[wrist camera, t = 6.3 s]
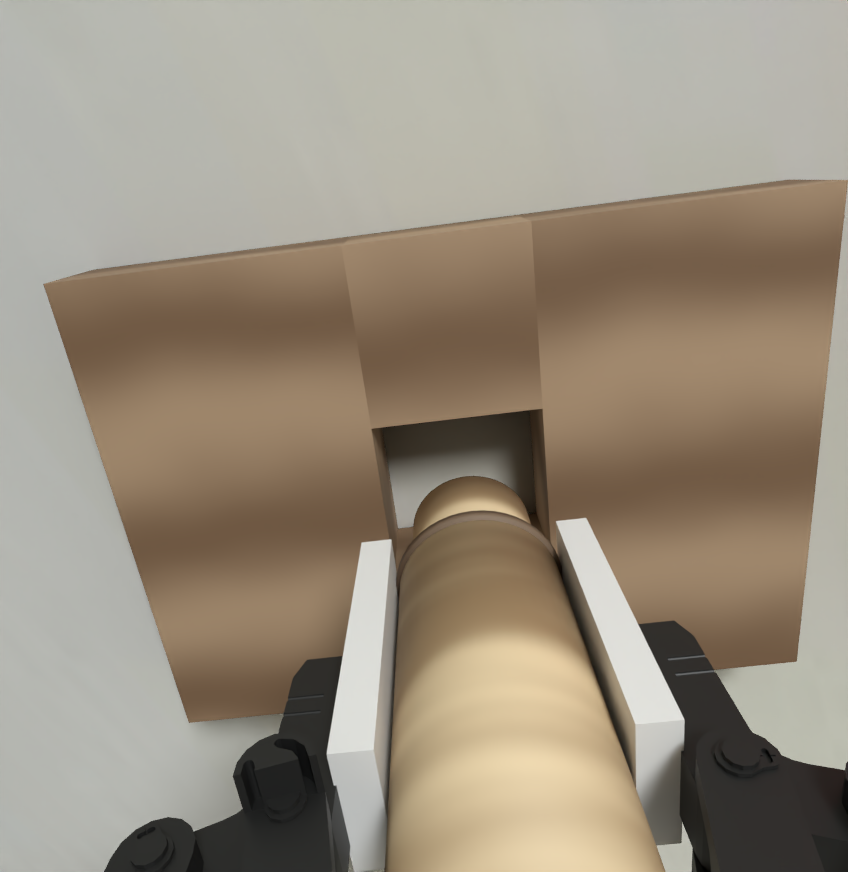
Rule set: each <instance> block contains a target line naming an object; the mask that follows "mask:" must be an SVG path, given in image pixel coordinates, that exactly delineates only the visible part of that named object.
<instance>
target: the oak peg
mask: <svg viewBox="0 0 848 872" xmlns="http://www.w3.org/2000/svg"><path fill="white" fill-rule="evenodd" d="M396 587H397V593H398V600H399V614H398V632H397V651H396V669H395V688H394V706H393V725H392V743H391V762H390V780H389V799H388V817H387V835H386V854H385V872H665V869H664V866H663V863H662V861H661V858H660V855H659V852H658V849H657V846H656V844H655V841H654V838H653V835H652V832H651V830H650V827H649V824H648V821H647V818H646V815H645V813H644V810H643V807H642V804H641V801H640V798H639V796H638V793H637V790H636V787H635V784H634V781H633V779H632V776H631V773H630V770H629V767H628V764H627V762H626V759H625V756H624V753H623V750H622V748H621V745H620V742H619V739H618V736H617V733H616V731H615V728H614V725H613V722H612V719H611V716H610V714H609V711H608V708H607V705H606V702H605V699H604V697H603V694H602V691H601V688H600V685H599V682H598V680H597V677H596V674H595V671H594V668H593V666H592V663H591V660H590V657H589V654H588V651H587V649H586V646H585V643H584V640H583V637H582V634H581V632H580V629H579V626H578V623H577V620H576V617H575V615H574V612H573V609H572V606H571V603H570V600H569V598H568V595H567V592H566V589H565V586H564V583H563V579H562V566H561V563H560V560H559V557H558V555H557V553H556V551H555V549H554V547H553V546H552V544H551V543H550V541H549V540H548V539H547V538H546V537H545V536H544V534H543V533H542V532H540V531H539V530H538V529H537V528H536V527H534V526H533V525H531V523H530V520H529V516H528V513H527V510H526V508H525V506H524V504H523V502H522V501H521V499H520V498H519V496H518V495H517V494H516V493H515V492H514V491H513V490H511V489H510V488H509V487H507V486H506V485H504V484H503V483H501V482H498V481H496V480H493V479H490V478H486V477H479V476H466V477H460V478H456V479H452V480H449V481H447V482H445V483H443V484H441V485H439V486H438V487H436V488H435V489H434V490H432V491H431V492H430V493H429V494H428V495H427V496H426V497H425V498H424V500H423V501H422V502H421V504H420V506H419V508H418V510H417V512H416V515H415V519H414V527H413V541H412V542H411V544H410V545H409V546H408V548H407V549H406V551H405V553H404V554H403V556H402V559H401V561H400V564H399V567H398V572H397V579H396Z"/></svg>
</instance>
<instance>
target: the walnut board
mask: <svg viewBox="0 0 848 872" xmlns="http://www.w3.org/2000/svg"><path fill="white" fill-rule="evenodd" d="M847 184H848V180H783V181H776V182H768V183H760V184H753V185H745V186H737V187H729V188H722V189H714V190H706V191H699V192H691V193H683V194H675V195H668V196H660V197H652V198H645V199H637V200H629V201H621V202H614V203H606V204H598V205H591V206H583V207H575V208H567V209H560V210H552V211H544V212H537V213H529V214H521V215H513V216H506V217H498V218H490V219H483V220H475V221H467V222H459V223H452V224H444V225H436V226H429V227H421V228H413V229H405V230H398V231H390V232H382V233H374V234H367V235H359V236H351V237H344V238H336V239H328V240H320V241H313V242H305V243H297V244H290V245H282V246H274V247H266V248H259V249H251V250H243V251H236V252H228V253H220V254H212V255H205V256H197V257H189V258H182V259H174V260H166V261H158V262H151V263H143V264H135V265H128V266H120V267H112V268H104V269H97V270H91V271H88V272H84V273H81V274H77V275H74V276H70V277H67V278H63V279H60V280H56V281H53V282H49V283H45V284H44V287H45V290H46V293H47V296H48V299H49V302H50V305H51V308H52V311H53V314H54V317H55V320H56V323H57V326H58V329H59V332H60V335H61V338H62V341H63V344H64V347H65V350H66V353H67V356H68V359H69V362H70V365H71V368H72V371H73V374H74V377H75V380H76V384H77V387H78V390H79V393H80V396H81V399H82V402H83V405H84V408H85V411H86V414H87V417H88V420H89V423H90V426H91V429H92V432H93V435H94V438H95V441H96V444H97V447H98V450H99V453H100V456H101V459H102V462H103V465H104V468H105V471H106V474H107V477H108V480H109V483H110V486H111V489H112V492H113V495H114V498H115V501H116V504H117V507H118V510H119V513H120V516H121V519H122V522H123V525H124V528H125V531H126V534H127V537H128V540H129V543H130V546H131V549H132V552H133V555H134V558H135V561H136V564H137V567H138V570H139V573H140V576H141V579H142V582H143V585H144V588H145V591H146V595H147V598H148V601H149V604H150V607H151V610H152V613H153V616H154V619H155V622H156V625H157V628H158V631H159V634H160V637H161V640H162V643H163V646H164V649H165V652H166V655H167V658H168V661H169V664H170V667H171V670H172V673H173V676H174V679H175V682H176V685H177V688H178V691H179V694H180V697H181V700H182V703H183V706H184V709H185V712H186V715H187V718H188V721H189V723H190V722H200V721H210V720H220V719H230V718H240V717H250V716H260V715H270V714H280V713H284V710H285V706H286V702H287V701H288V695H289V691H290V687H291V683H292V679H293V677H294V676H295V674H296V673H297V672H298V671H299V669H300V668H301V667H302V665H303V664H304V663H305V661H306V660H309V659H318V658H328V657H338V656H343V652H344V646H345V640H346V634H347V628H348V622H349V616H350V610H351V604H352V598H353V592H354V586H355V580H356V574H357V568H358V562H359V556H360V550H361V544H362V542H371V541H380V540H389V539H391V540H392V546H393V552H394V558H395V565H396V571H397V572H398V567H399V564H400V561H401V559H402V556H403V554H404V553H405V551H406V549H407V548H408V546H409V545H410V544H411V542H412V541H413V527H409V528H400V529H398V526H397V520H396V513H395V507H394V501H393V494H392V488H391V482H390V475H389V469H388V463H387V456H386V450H385V443H384V437H383V431H382V427H390V426H399V425H407V424H416V423H424V422H433V421H441V420H450V419H458V418H467V417H475V416H484V415H492V414H501V413H509V412H518V411H526V410H529V411H530V425H531V440H532V455H533V470H534V484H535V499H536V513H535V514H528V516H529V520H530V523H531V525H533V526H534V527H536V528H537V529H538V530H539V531H540V532H542V533H543V534H544V536H545V537H546V538H547V539H548V540H549V541H550V543H551V544H552V546H553V547H554V549H555V551H556V553H557V555H558V552H557V534H556V521H562V520H571V519H580V518H587V520H588V523H589V525H590V527H591V529H592V531H593V533H594V535H595V537H596V539H597V541H598V543H599V545H600V547H601V549H602V551H603V553H604V555H605V557H606V559H607V562H608V564H609V566H610V568H611V570H612V572H613V574H614V576H615V578H616V580H617V582H618V584H619V586H620V588H621V590H622V592H623V594H624V596H625V598H626V601H627V603H628V605H629V607H630V609H631V611H632V613H633V615H634V617H635V619H636V621H637V623H638V624H644V623H653V622H663V621H673V620H674V621H676V622H677V623H678V624H679V625H681V626H682V627H683V628H685V629H686V630H687V631H689V632H690V633H691V634H692V635H694V637H695V638H696V640H697V642H698V643H699V645H700V647H701V648H702V650H703V652H704V654H705V657H706V658H707V659H708V660H709V662H710V664H711V665H712V667H713V669H714V670H717V669H727V668H737V667H747V666H757V665H767V664H776V663H786V662H796V661H797V653H798V643H799V634H800V625H801V615H802V606H803V597H804V587H805V578H806V568H807V559H808V550H809V540H810V531H811V521H812V512H813V503H814V493H815V484H816V475H817V465H818V456H819V446H820V437H821V428H822V418H823V409H824V399H825V390H826V381H827V371H828V362H829V353H830V343H831V334H832V324H833V315H834V306H835V296H836V287H837V277H838V268H839V259H840V249H841V240H842V230H843V221H844V212H845V202H846V193H847Z"/></svg>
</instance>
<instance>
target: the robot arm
mask: <svg viewBox="0 0 848 872" xmlns="http://www.w3.org/2000/svg"><path fill="white" fill-rule="evenodd" d="M556 534H557V552H558V557H559V560H560V563H561V566H562V579H563V583H564V586H565V589H566V592H567V595H568V598H569V600H570V603H571V606H572V609H573V612H574V615H575V617H576V620H577V623H578V626H579V629H580V632H581V634H582V637H583V640H584V643H585V646H586V649H587V651H588V654H589V657H590V660H591V663H592V666H593V668H594V671H595V674H596V677H597V680H598V682H599V685H600V688H601V691H602V694H603V697H604V699H605V702H606V705H607V708H608V711H609V714H610V716H611V719H612V722H613V725H614V728H615V731H616V733H617V736H618V739H619V742H620V745H621V748H622V750H623V753H624V756H625V759H626V762H627V764H628V767H629V770H630V773H631V776H632V779H633V781H634V784H635V787H636V790H637V793H638V796H639V798H640V801H641V804H642V807H643V810H644V813H645V815H646V818H647V821H648V824H649V827H650V830H651V832H652V835H653V838H654V841H655V844H656V845H665V844H677V843H681V838H682V822H683V825H684V827H685V830H686V832H687V835H688V837H689V839H690V842H691V844H692V847H693V853H692V872H848V762H847V763H846V768H845V770H840V769H834V768H828V767H822V766H816V765H811V764H806V763H802V762H798V761H794V760H791V759H789V758H787V757H784V756H782V755H781V754H780V752H779V751H778V749H777V748H775V747H774V746H773V745H772V744H771V743H769V742H768V741H767V740H766V739H765V738H763V737H761V736H759V735H756V734H754V733H752V731H751V730H750V729H749V727H748V725H747V724H746V722H745V720H744V719H743V717H742V715H741V714H740V712H739V710H738V709H737V707H736V705H735V704H734V702H733V700H732V699H731V697H730V695H729V694H728V692H727V690H726V689H725V687H724V685H723V684H722V682H721V680H720V679H719V677H718V675H717V674H716V673H715V672H714V669H713V667H712V665H711V664H710V662H709V660H708V659H707V658H706V657H705V654H704V652H703V650H702V648H701V647H700V645H699V643H698V642H697V640H696V638H695V637H694V635H692V634H691V633H690V632H689V631H687V630H686V629H685V628H683V627H682V626H681V625H679V624H678V623H677V622H676V621H674V620H673V621H663V622H653V623H644V624H638V623H637V621H636V619H635V617H634V615H633V613H632V611H631V609H630V607H629V605H628V603H627V601H626V598H625V596H624V594H623V592H622V590H621V588H620V586H619V584H618V582H617V580H616V578H615V576H614V574H613V572H612V570H611V568H610V566H609V564H608V562H607V559H606V557H605V555H604V553H603V551H602V549H601V547H600V545H599V543H598V541H597V539H596V537H595V535H594V533H593V531H592V529H591V527H590V525H589V523H588V520H587V518H580V519H571V520H562V521H556ZM396 579H397V571H396V565H395V558H394V552H393V546H392V540H391V539H389V540H380V541H371V542H362V544H361V550H360V556H359V562H358V568H357V574H356V580H355V586H354V592H353V598H352V604H351V610H350V616H349V622H348V628H347V634H346V640H345V646H344V652H343V656H338V657H328V658H318V659H309V660H306V661H305V663H304V664H303V665H302V667H301V668H300V669H299V671H298V672H297V673H296V674H295V676H294V677H293V679H292V683H291V687H290V691H289V695H288V701H287V702H286V706H285V710H284V717H283V718H282V722H281V725H280V729H279V733H278V734H274V735H272V736H269V737H267V738H264V739H262V740H259V741H258V742H257V743H255V744H254V745H253V746H251V747H250V748H249V749H247V750H246V751H245V753H244V754H243V755H242V757H241V758H240V759H239V761H238V762H237V764H236V768H235V771H234V774H233V778H234V781H235V785H236V788H237V791H238V794H239V798H240V801H241V804H242V807H243V809H242V810H241V811H240V812H238V813H237V814H235V815H233V816H231V817H229V818H227V819H225V820H223V821H220V822H218V823H215V824H213V825H210V826H207V827H205V828H202V829H200V830H197V831H195V832H193V830H192V827H191V826H190V825H189V824H188V823H186V822H185V821H184V820H182V819H177V818H170V817H167V818H163V819H159V820H154V821H151V822H149V823H148V824H146V825H144V826H142V827H140V828H138V829H136V830H135V831H134V832H133V833H132V834H131V835H129V836H128V837H127V838H126V839H125V840H124V841H123V842H122V843H121V844H120V845H119V847H118V848H117V850H116V851H115V853H114V854H113V856H112V857H111V859H110V861H109V863H108V865H107V867H106V869H105V871H104V872H348V865H349V856H350V857H351V861H352V866H353V870H354V872H361V871H372V870H383V869H385V854H386V835H387V817H388V799H389V780H390V762H391V743H392V725H393V706H394V688H395V669H396V651H397V632H398V614H399V600H398V593H397V587H396Z"/></svg>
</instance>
